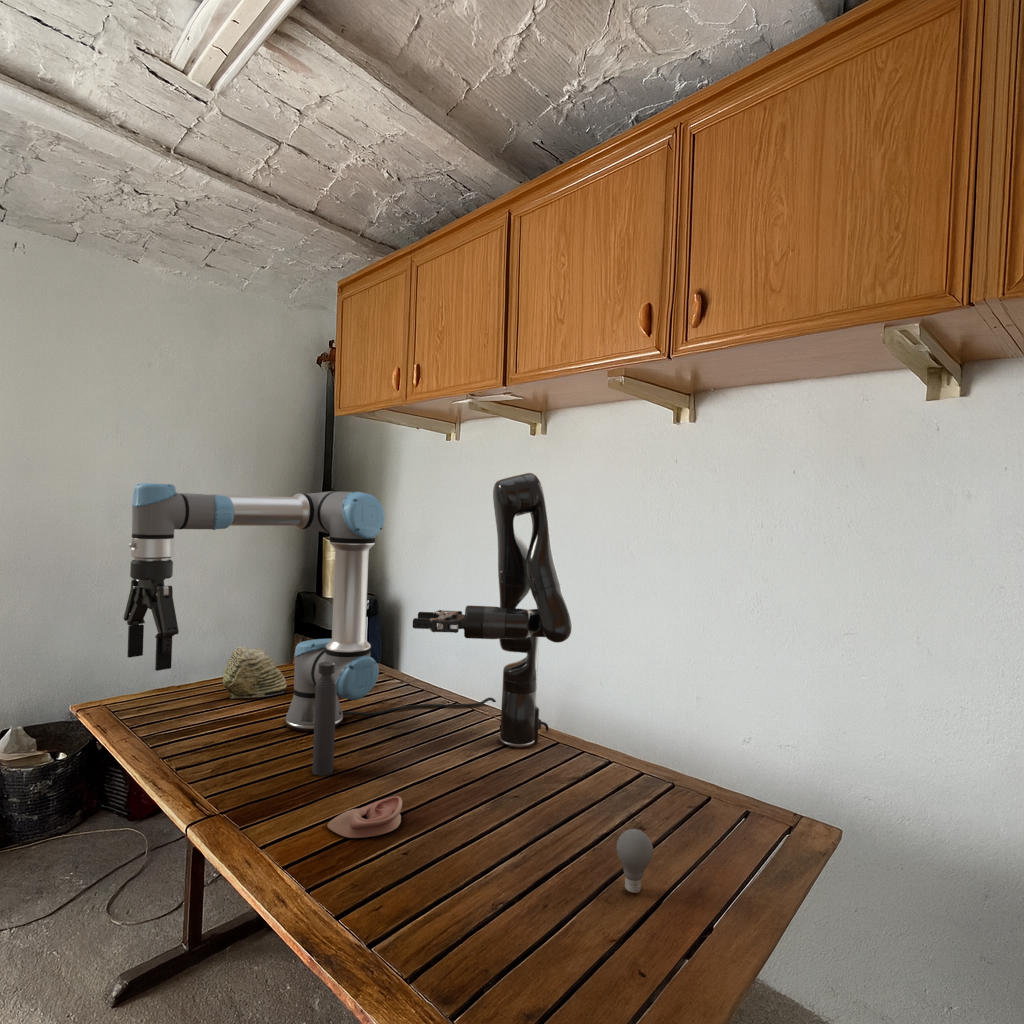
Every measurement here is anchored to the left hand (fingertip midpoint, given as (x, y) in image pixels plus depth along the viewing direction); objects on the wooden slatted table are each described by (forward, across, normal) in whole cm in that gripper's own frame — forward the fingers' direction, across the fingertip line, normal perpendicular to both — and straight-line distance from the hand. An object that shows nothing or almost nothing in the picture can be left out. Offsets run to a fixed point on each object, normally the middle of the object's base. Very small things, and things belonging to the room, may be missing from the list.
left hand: (148, 662), depth 129 cm
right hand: (-8, +29, +46) cm, 55 cm away
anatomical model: (+28, +41, +24) cm, 55 cm away
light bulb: (+28, +90, +41) cm, 103 cm away
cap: (+3, +15, +32) cm, 36 cm away
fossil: (+28, -47, +50) cm, 74 cm away
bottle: (+28, +15, +32) cm, 45 cm away
